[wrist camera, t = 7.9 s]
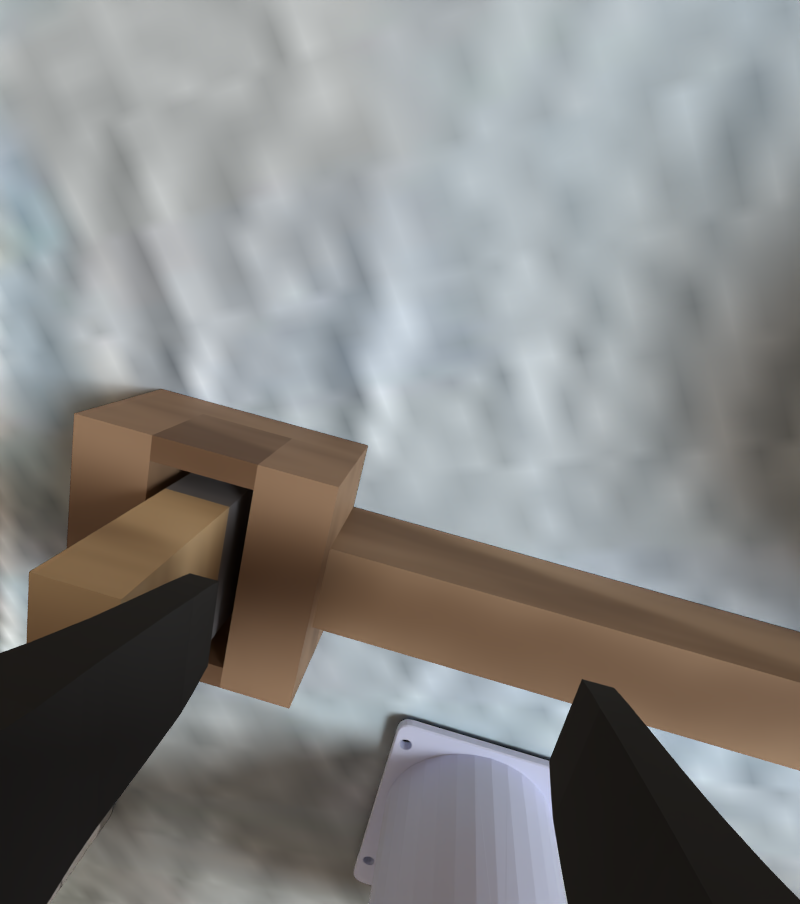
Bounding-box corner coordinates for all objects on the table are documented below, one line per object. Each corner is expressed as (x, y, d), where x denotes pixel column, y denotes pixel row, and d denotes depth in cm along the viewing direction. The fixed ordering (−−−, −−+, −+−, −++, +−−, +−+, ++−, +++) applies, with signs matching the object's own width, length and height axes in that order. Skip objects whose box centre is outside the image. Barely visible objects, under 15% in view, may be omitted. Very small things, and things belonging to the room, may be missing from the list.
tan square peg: (245, 595, 20) (103, 782, 12) (195, 580, 20) (23, 756, 12) (267, 474, 18) (120, 599, 10) (212, 459, 18) (29, 571, 11)
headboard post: (865, 785, 20) (973, 915, 16) (141, 573, 22) (61, 639, 17) (982, 614, 18) (1146, 713, 14) (161, 389, 19) (74, 413, 15)
